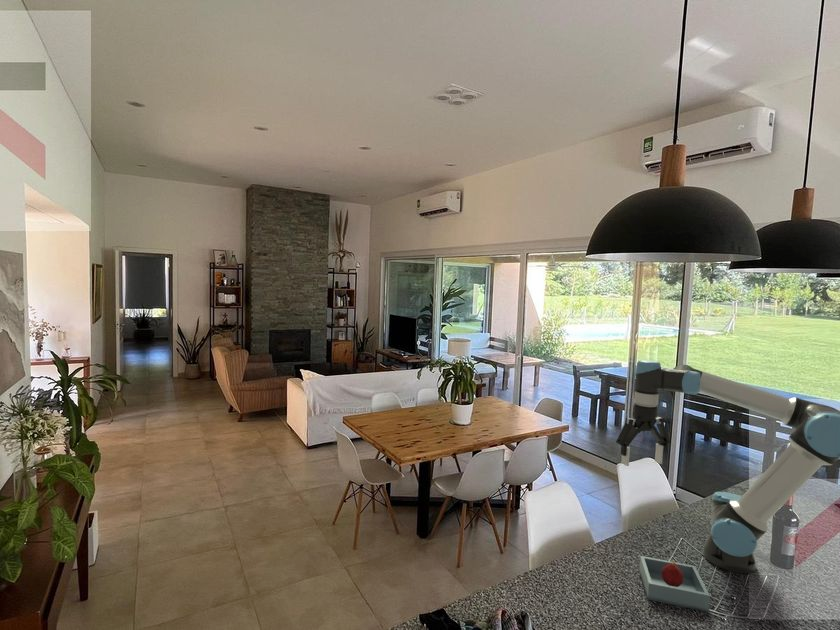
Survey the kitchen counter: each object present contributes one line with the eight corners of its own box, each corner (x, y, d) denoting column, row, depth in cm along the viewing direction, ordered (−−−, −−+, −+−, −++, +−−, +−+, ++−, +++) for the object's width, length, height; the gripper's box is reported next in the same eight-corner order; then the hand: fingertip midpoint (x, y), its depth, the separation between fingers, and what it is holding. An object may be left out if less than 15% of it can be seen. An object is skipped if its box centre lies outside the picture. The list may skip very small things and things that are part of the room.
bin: (693, 581, 145) (695, 566, 144) (708, 612, 130) (709, 595, 130) (639, 570, 149) (640, 555, 149) (647, 599, 135) (648, 583, 135)
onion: (685, 595, 136) (687, 569, 136) (664, 592, 137) (666, 566, 137) (678, 582, 142) (679, 558, 142) (658, 580, 143) (660, 555, 143)
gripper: (667, 401, 165) (664, 458, 166) (607, 402, 159) (604, 461, 160) (684, 406, 157) (680, 465, 158) (621, 407, 152) (618, 469, 153)
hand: (642, 463), depth 159 cm, fingers open, 13 cm apart
